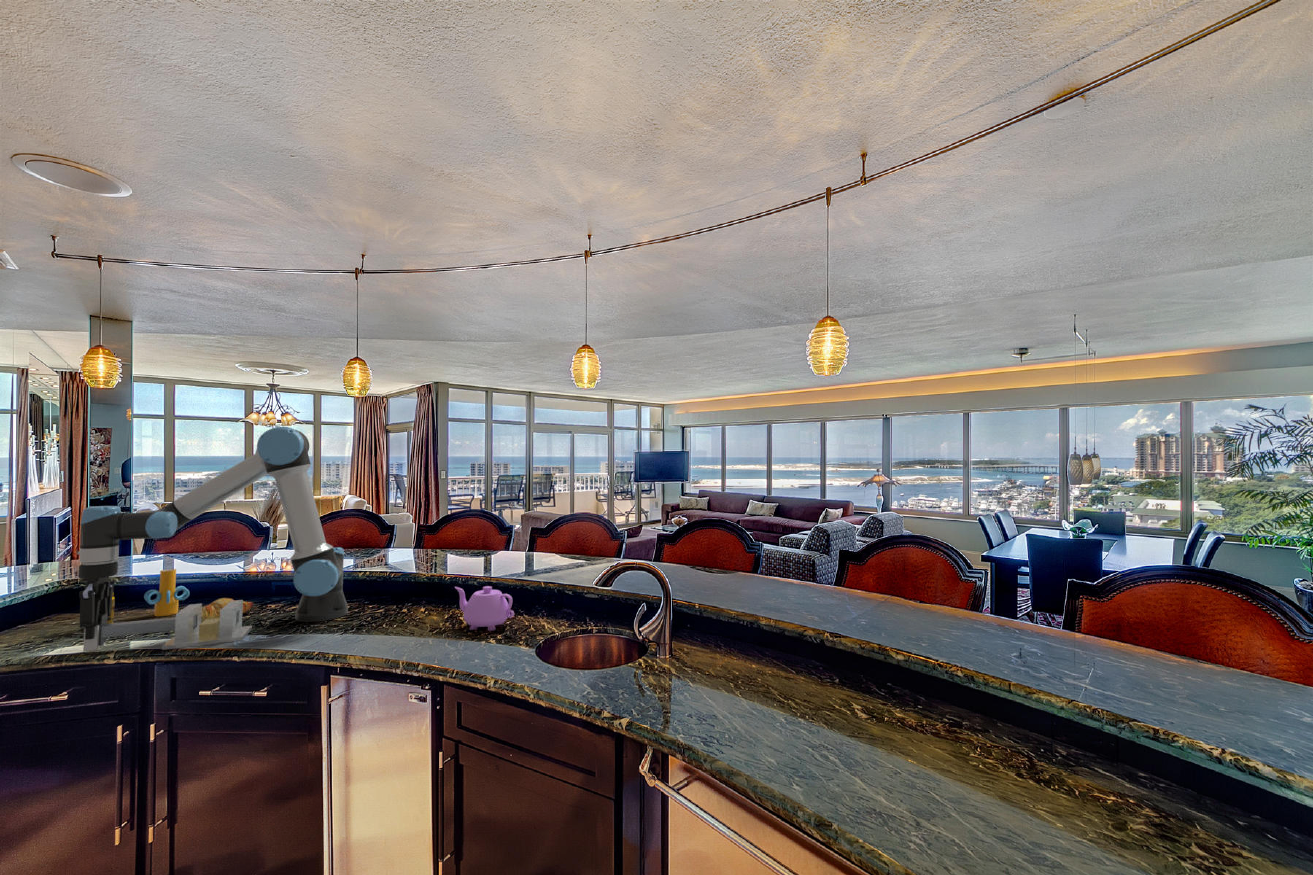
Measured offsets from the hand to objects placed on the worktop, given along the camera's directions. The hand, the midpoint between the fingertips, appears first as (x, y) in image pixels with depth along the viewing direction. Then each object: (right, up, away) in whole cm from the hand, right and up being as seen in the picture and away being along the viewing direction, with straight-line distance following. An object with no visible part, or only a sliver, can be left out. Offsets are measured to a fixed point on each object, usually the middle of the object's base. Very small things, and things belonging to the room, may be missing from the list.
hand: (94, 647), depth 145 cm
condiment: (-20, -2, +19) cm, 28 cm away
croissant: (+8, -3, +31) cm, 32 cm away
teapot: (+99, -3, +25) cm, 102 cm away
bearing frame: (+22, -2, +11) cm, 25 cm away
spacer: (+21, +1, +11) cm, 23 cm away
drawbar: (+9, +1, +4) cm, 10 cm away
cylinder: (-13, -3, +36) cm, 38 cm away
